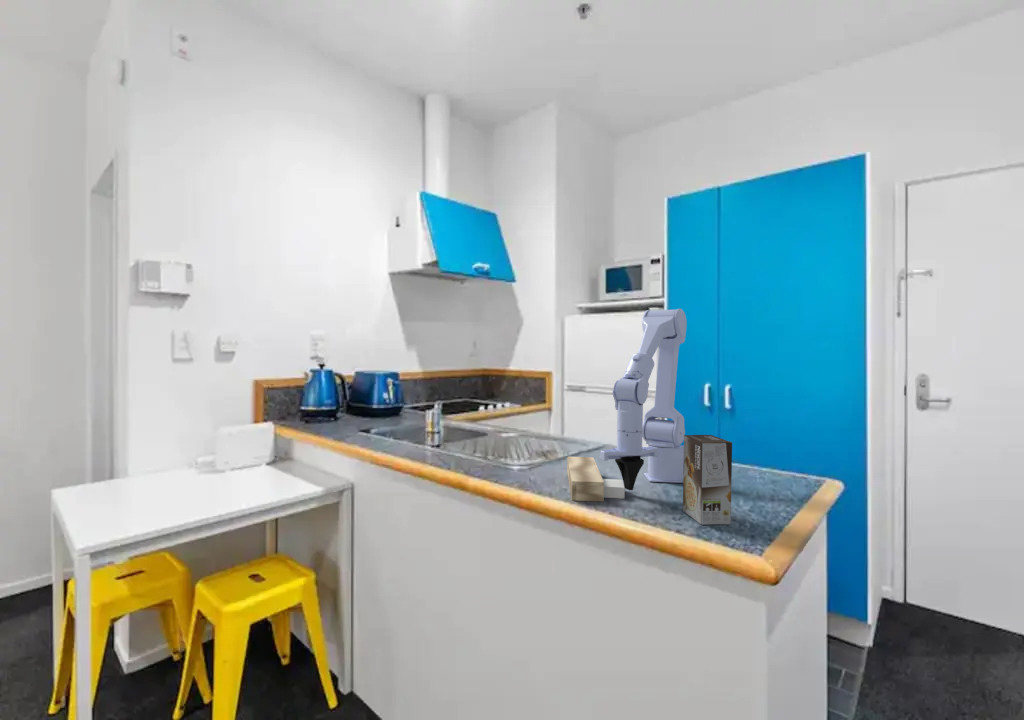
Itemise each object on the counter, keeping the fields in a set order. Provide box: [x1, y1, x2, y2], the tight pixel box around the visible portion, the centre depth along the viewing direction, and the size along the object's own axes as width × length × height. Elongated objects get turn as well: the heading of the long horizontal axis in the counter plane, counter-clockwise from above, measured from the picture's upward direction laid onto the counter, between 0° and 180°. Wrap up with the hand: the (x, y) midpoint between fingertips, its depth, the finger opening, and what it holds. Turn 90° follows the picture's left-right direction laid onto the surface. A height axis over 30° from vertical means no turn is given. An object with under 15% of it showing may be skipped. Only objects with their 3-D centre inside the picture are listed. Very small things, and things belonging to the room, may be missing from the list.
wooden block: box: [566, 456, 605, 503], centre depth 125 cm, size 7×26×4 cm, turn 176°
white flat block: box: [602, 478, 626, 499], centre depth 118 cm, size 10×7×2 cm
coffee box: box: [682, 434, 733, 526], centre depth 102 cm, size 9×6×16 cm
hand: (628, 489), depth 117 cm, fingers closed
